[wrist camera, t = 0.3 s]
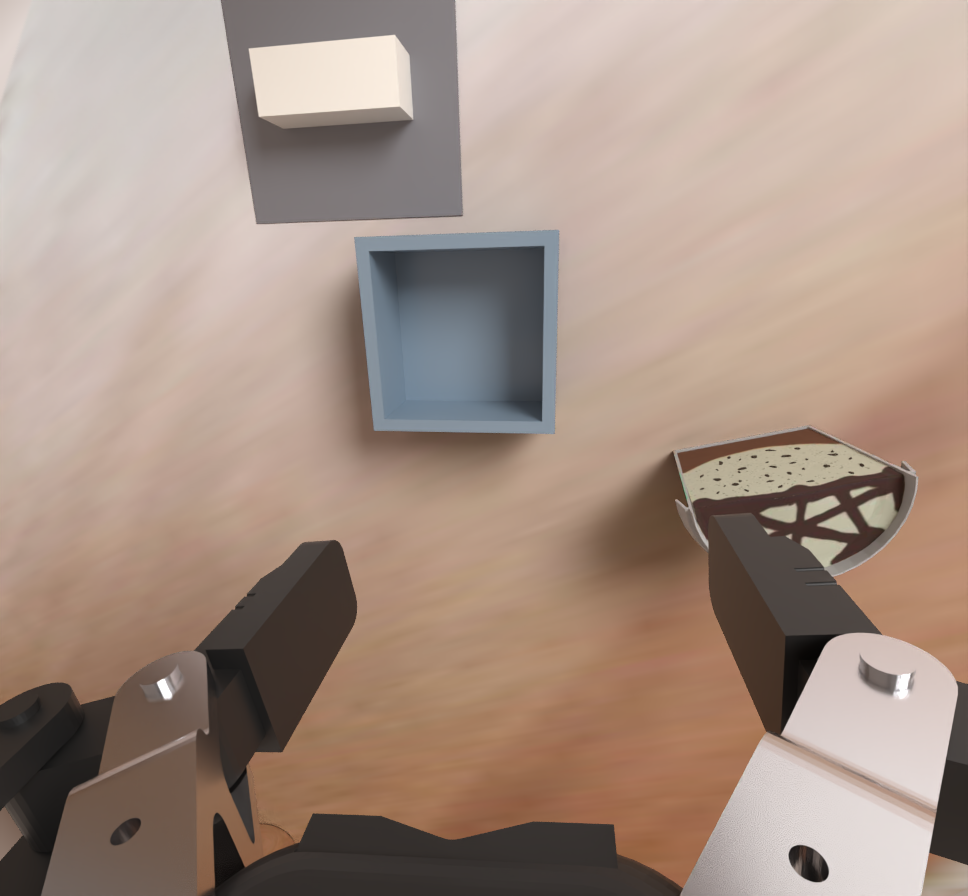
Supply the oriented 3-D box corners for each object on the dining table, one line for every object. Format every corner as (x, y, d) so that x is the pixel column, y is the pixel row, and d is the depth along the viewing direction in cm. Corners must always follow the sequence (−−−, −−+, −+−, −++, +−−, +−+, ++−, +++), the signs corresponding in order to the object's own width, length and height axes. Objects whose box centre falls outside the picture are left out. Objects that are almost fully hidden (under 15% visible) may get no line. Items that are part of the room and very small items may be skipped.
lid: (222, -33, 32) (181, -70, 29) (454, -61, 30) (441, -104, 27) (262, 224, 37) (231, 220, 34) (464, 216, 35) (453, 210, 32)
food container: (664, 526, 40) (696, 605, 31) (652, 454, 38) (682, 515, 29) (837, 498, 38) (929, 576, 28) (833, 420, 36) (930, 475, 26)
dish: (386, 241, 36) (354, 237, 30) (559, 235, 34) (559, 229, 29) (399, 407, 40) (373, 430, 34) (555, 409, 38) (554, 433, 33)
